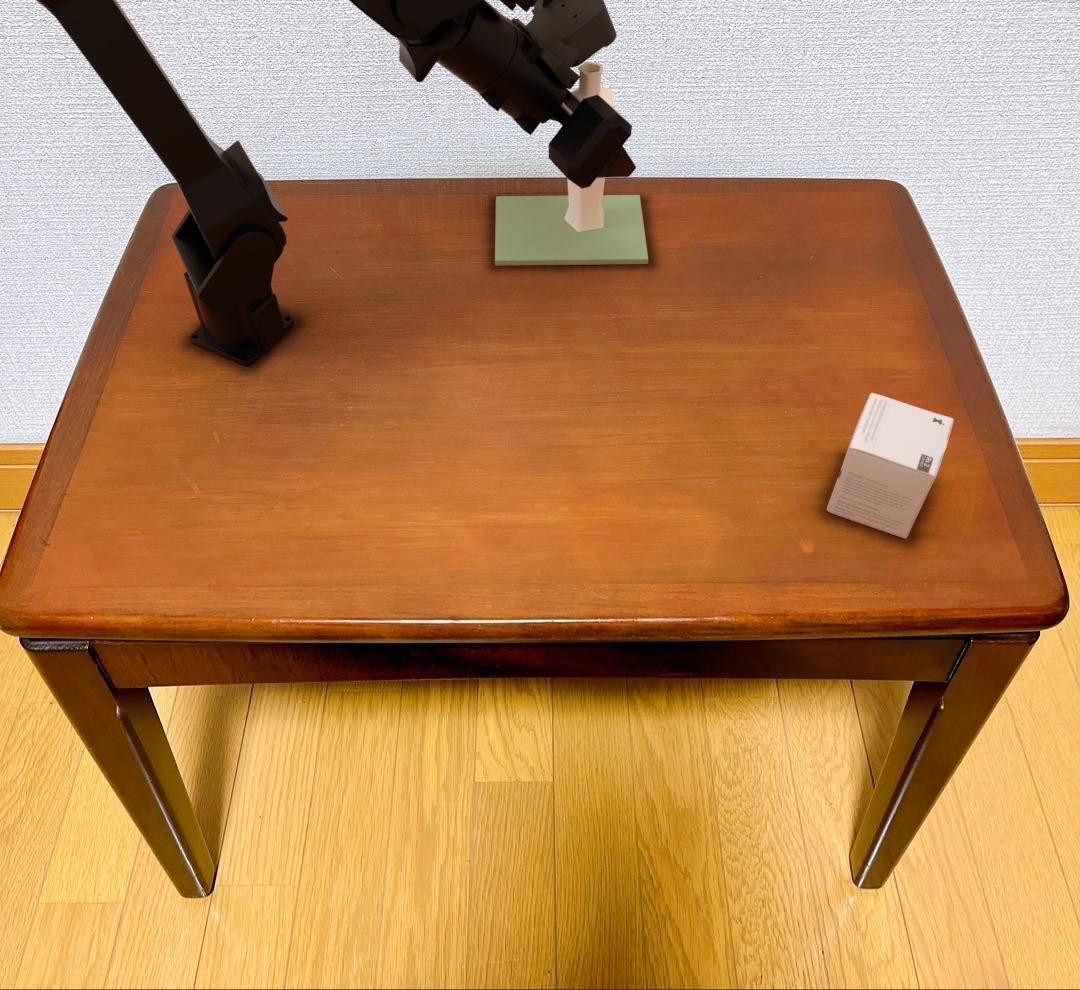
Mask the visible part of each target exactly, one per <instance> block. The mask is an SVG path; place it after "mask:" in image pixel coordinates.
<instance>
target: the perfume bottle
mask: <svg viewBox="0 0 1080 990" xmlns="http://www.w3.org/2000/svg"><path fill="white" fill-rule="evenodd" d="M577 70H578V72H579V76H580V78H579V79H578V80H579V81H578V82H579V83H578V86H577V87H576V88H575V89H573V90H572V91H570V92H571V93H572V94H573V95H574V96H575V97H576V98H577V99H579V100H580V101H582V100H583V99H584V98H587V97H591V96H595V95H599V96H600V97H601V98H602V99H604V100H605V101H606V102H607V103H608V104H609V105H610V106H612V107H613V108H614V105H615V104H614V103H615V102H614V101H615V100H614V99H615V98H614V97H615V96H614V95H615V93H614V90H611V89H608V88H606V87H602V74H603V72H604V65H603V64H602V63H598V62H592V61H585V62H583V63H582V64H581V65H579V66H577ZM562 104H563V107H564V108H565V109H566V110H567V111H568V112H569V113H570V114H572V113H573V112H572V111H571V110H570V109H569V108H568V107H567V106H566V105H565V104H564V103H562ZM614 109H615V108H614ZM566 180H567V196H568V198H569V206H568V209H567V212H566V215H565V221H566V222H568V223H569V224H570V225H571V226H572V227H573V228H574V229H575V230H576V231H578V232H583V231H589V230H594V229H600V228H603V227H604V212H603V208H602V198H603V195H604V190H605V181H606V177H604V178H596V179H595V181H594V182H593V183H592V184H591V186H590V187H587V188H583V189H581V188H580V187H579V186H577V185H576V184H574V183H573V182H572V181H570V180H569V179H568V178H567V177H566Z"/></svg>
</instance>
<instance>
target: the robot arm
mask: <svg viewBox="0 0 1080 990" xmlns="http://www.w3.org/2000/svg"><path fill="white" fill-rule="evenodd" d="M35 1H36V2H38V3H39V5H41V6H42V7H44V8H45V9H46V10H47V11H48V12H49V13H50V14H51V15H52V16H53V17H54V18H55V20H57V22H58V23H59V24H60V26H61V27H62V28H63V30H64V31H65V33H66V34H67V36H69V39H71V41H72V42H73V43H74V45H75V46H76V47H77V49H78V50H79V51H80V53H81V54H82V56H83V57H84V58H85V60H87V62H88V63H89V65H90V66H91V68H92V69H93V70H94V72H95V73H96V75H97V76H98V77H99V79H100V80H101V81H102V83H103V84H104V85H105V87H106V88H107V89H108V91H109V92H110V93H111V95H112V96H113V98H114V99H115V100H116V101H117V103H118V104H119V105H120V107H121V108H122V109H123V111H124V113H125V114H126V115H127V116H128V118H129V119H130V121H131V122H132V123H133V125H134V126H135V128H136V129H137V130H138V131H139V132H140V134H141V135H142V137H143V138H144V139H145V141H146V142H147V143H148V145H149V146H150V147H151V149H152V150H153V152H154V153H155V155H156V156H157V157H158V158H159V160H160V161H161V162H162V164H163V165H164V167H165V168H166V169H167V171H168V172H169V173H170V175H171V176H172V178H173V179H174V180H175V181H176V183H177V186H178V188H179V190H180V192H181V194H182V196H183V198H184V201H185V203H186V204H187V207H188V210H187V212H186V213H185V214H184V216H183V218H182V219H181V220H180V222H179V224H178V225H177V226H176V228H175V230H174V231H173V233H172V234H171V236H170V237H171V238H170V239H171V241H172V243H173V245H174V247H175V250H176V251H177V254H178V256H179V258H180V260H181V262H182V264H183V267H184V269H185V272H184V273H183V276H184V279H185V282H186V285H187V288H188V290H189V294H190V297H191V299H192V300H191V301H192V304H193V305H194V308H195V311H196V315H197V317H198V320H199V323H200V326H199V327H197V329H196V330H194V331H193V332H192V333H190V335H189V340H190V342H191V344H192V345H195V346H198V347H200V348H203V349H205V350H208V351H210V352H212V353H215V354H217V355H220V356H222V357H225V358H226V359H228V360H231V361H234V362H237V363H238V364H240V365H242V366H251V365H253V364H254V363H255V362H256V361H257V360H258V359H259V358H260V357H261V356H262V355H263V354H264V353H265V352H266V351H267V350H269V348H271V347H272V346H273V345H274V344H275V343H276V342H277V341H278V340H279V339H280V338H281V337H282V336H283V335H284V334H285V333H286V332H287V331H288V330H289V329H290V328H291V327H292V326H293V325H294V324H295V318H294V316H293V315H290V314H288V313H286V312H283V311H281V309H280V306H279V301H278V297H277V294H276V293H274V291H273V287H272V281H273V274H274V268H275V263H277V262H278V260H279V259H280V257H281V256H282V254H283V252H284V248H285V246H286V245H287V243H288V242H287V234H286V232H285V230H284V227H283V225H282V224H281V223H283V222H284V223H285V222H287V221H288V216H287V215H286V213H285V212H284V210H283V208H282V206H281V205H280V203H279V202H278V200H277V198H276V196H275V195H274V193H273V191H272V190H271V188H270V187H269V184H268V183H267V181H266V179H265V177H263V175H262V173H259V172H258V170H257V169H256V167H255V166H254V164H253V162H252V161H251V159H250V157H249V155H248V153H247V152H246V150H245V149H244V147H243V145H242V143H241V142H240V140H236V141H235V142H233V143H232V144H231V145H230V146H229V147H227V148H226V149H223V148H222V147H221V146H219V144H217V143H216V142H215V141H213V139H212V138H210V137H209V136H208V134H207V133H206V131H205V130H204V128H203V127H202V126H201V124H200V123H199V121H198V119H197V118H196V117H195V115H194V114H193V112H192V111H191V109H190V108H189V106H188V104H187V102H185V100H184V99H183V97H182V96H181V94H180V92H179V91H178V90H177V88H176V87H175V85H174V84H173V83H172V81H171V79H170V77H169V76H168V75H167V74H166V72H165V70H164V68H163V67H162V65H161V64H160V63H159V61H158V60H157V59H156V57H155V56H154V54H153V52H152V51H151V49H150V48H149V47H148V45H147V43H146V42H145V40H144V39H143V38H142V36H141V35H140V33H139V32H138V31H137V29H136V28H135V26H134V24H133V23H132V21H131V20H130V18H129V17H128V15H127V14H126V13H125V11H124V10H123V8H122V7H121V5H120V4H119V2H118V1H117V0H35ZM348 1H349V2H350V3H352V5H354V6H355V7H356V8H357V9H358V10H359V11H361V12H362V13H363V14H364V15H366V16H367V17H368V18H369V19H371V20H372V21H373V22H374V23H376V24H377V25H378V26H380V27H381V28H382V29H383V30H385V31H386V32H387V33H388V34H389V35H391V36H392V37H394V38H396V40H397V41H398V44H399V48H398V49H399V50H398V60H399V62H400V64H401V65H402V66H403V68H405V70H406V71H407V72H408V73H409V75H410V76H412V78H413V79H414V80H415V82H417V83H422V82H424V80H425V79H427V76H428V75H429V74H430V72H431V71H432V69H433V68H434V66H435V65H436V64H438V65H439V66H441V67H443V69H446V70H447V71H448V72H449V73H451V74H452V75H453V76H455V78H458V79H459V80H460V81H461V82H463V83H465V84H466V85H467V86H468V87H470V88H471V89H473V90H474V91H475V92H476V93H478V95H479V96H481V98H482V99H483V100H484V102H485V103H487V105H488V106H489V107H491V108H492V109H494V110H495V111H497V112H499V111H500V110H501V111H502V112H503V113H504V114H506V115H508V116H509V117H510V118H511V119H512V120H514V122H515V123H516V124H517V125H518V126H519V127H520V128H521V129H522V131H524V132H525V133H527V134H528V135H530V136H532V135H533V133H534V132H535V131H536V129H537V128H538V127H539V126H540V124H542V125H544V124H545V123H547V122H548V121H549V120H550V121H555V122H558V123H559V124H560V125H561V127H560V128H559V130H557V132H556V133H555V134H554V136H553V137H552V138H551V140H550V142H548V159H549V160H550V162H552V164H553V165H554V166H555V167H556V168H557V169H558V170H559V171H560V172H561V173H562V175H564V177H566V179H567V178H568V179H569V180H570V181H572V182H573V183H574V184H576V185H577V186H579V187H580V188H581V189H583V188H587V187H590V186H591V184H592V183H593V182H594V181H595V179H596V178H604V177H605V178H629V177H630V176H631V175H632V174H633V173H634V172H635V170H637V169H636V167H637V165H636V164H635V163H634V161H633V159H632V158H631V156H630V155H629V153H628V152H627V150H626V148H625V147H624V145H625V143H626V142H627V141H628V140H629V139H630V138H631V136H632V132H633V125H632V124H631V123H630V122H629V121H628V120H627V119H626V118H625V117H624V116H623V115H622V114H620V113H619V112H618V111H617V110H616V109H615V108H613V107H612V106H610V105H609V104H608V103H607V102H606V101H605V100H604V99H602V98H601V97H600V96H599V95H595V96H591V97H587V98H584V99H583V100H582V101H580V100H579V99H577V98H576V97H575V96H574V95H573V94H572V93H571V92H572V91H571V89H572V88H573V87H574V86H575V84H576V83H577V82H578V80H579V78H580V74H578V73H577V72H576V71H574V69H572V68H576V67H579V66H581V65H583V64H584V63H586V62H587V60H589V59H590V58H591V57H593V56H594V55H595V54H596V53H598V52H599V51H600V50H602V49H603V48H607V47H609V46H611V44H613V43H614V42H615V41H616V39H617V30H616V28H615V26H614V23H613V21H612V18H611V15H610V13H609V11H608V8H607V5H606V3H605V1H604V0H499V1H500V2H501V3H502V4H503V5H504V6H505V7H507V8H508V9H509V10H510V11H511V12H514V10H515V8H516V7H517V6H518V7H519V8H520V9H522V10H523V11H524V12H525V13H528V12H529V11H530V9H531V8H533V9H531V13H532V15H533V16H532V18H531V20H530V21H529V22H528V23H527V24H525V23H523V22H522V21H521V20H520V19H519V18H515V17H512V19H510V18H509V17H508V16H507V17H506V16H505V15H504V14H503V13H501V12H500V11H499V10H498V9H497V8H496V7H494V6H493V5H492V4H491V3H489V2H488V1H487V0H348ZM562 103H564V104H565V105H566V106H567V107H568V108H569V109H570V110H571V111H572V112H573V113H572V114H570V113H569V112H568V111H567V110H566V109H565V108H564V107H563V104H562Z"/></svg>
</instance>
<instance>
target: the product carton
mask: <svg viewBox="0 0 1080 990" xmlns="http://www.w3.org/2000/svg"><path fill="white" fill-rule="evenodd" d="M954 421H955V420H954V418H953V417H950V416H947V415H944V414H940V413H937V412H933V411H930V410H927V409H924V408H921V407H918V406H915V405H911V404H910V403H909V404H908V403H905V402H902V401H900V400H896V399H894V398H891V397H888V396H885V395H882V394H878V393H875V392H870V393H869V396H868V398H867V400H866V401H865V405H864V407H863V409H862V411H861V414H860V416H859V418H858V421H857V423H856V426H855V429H854V431H853V433H852V436H851V438H850V442H849V445H848V448H847V451H846V453H845V456H844V459H843V462H842V465H841V467H840V470H839V473H838V476H837V479H836V482H835V484H834V487H833V490H832V493H831V495H830V499H829V501H828V503H827V507H826V511H827V512H828V513H830V514H832V515H835V516H838V517H841V518H844V519H847V520H850V521H852V522H856V523H858V524H861V525H864V526H867V527H870V528H873V529H876V530H879V531H882V532H885V533H887V534H891V535H892V536H896V537H899V538H902V539H908V537H909V535H910V533H911V531H912V528H913V526H914V523H915V522H916V520H917V517H918V515H919V513H920V511H921V509H922V507H923V505H924V503H925V501H926V498H927V497H928V494H929V492H930V490H931V488H932V486H933V484H934V482H935V480H936V478H937V476H938V473H939V471H940V467H941V464H942V461H943V459H944V456H945V452H946V449H947V447H948V443H949V439H950V436H951V433H952V429H953V426H954Z"/></svg>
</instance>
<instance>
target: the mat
mask: <svg viewBox="0 0 1080 990" xmlns="http://www.w3.org/2000/svg"><path fill="white" fill-rule="evenodd" d="M568 206H569V198H568V195H497V196H495V229H494V230H495V231H494V233H495V235H494V266H495V267H496V266H497V267H498V266H502V267H503V266H581V265H582V266H583V265H584V266H589V265H591V266H592V265H593V266H594V265H595V266H596V265H598V266H599V265H648V264H649V253H648V245H647V240H646V232H645V231H646V230H645V225H644V216H643V209H642V203H641V194H605V195H604V194H603V198H602V208H603V212H604V227H603V228H600V229H594V230H589V231H583V232H578V231H576V230H575V229H574V228H573V227H572V226H571V225H570V224H569V223H568V222H566V221H565V215H566V212H567V209H568Z"/></svg>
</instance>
